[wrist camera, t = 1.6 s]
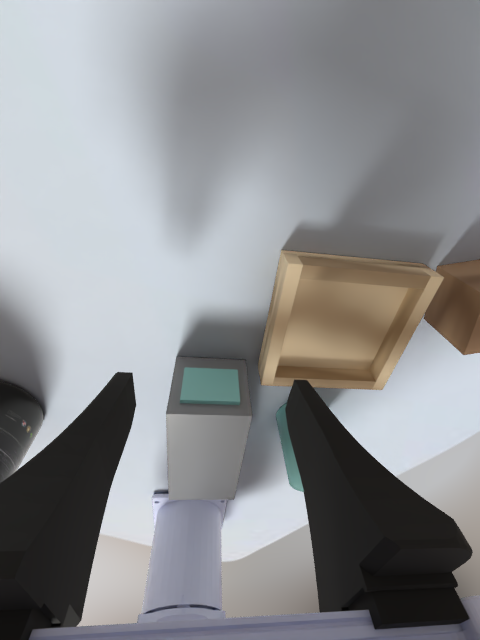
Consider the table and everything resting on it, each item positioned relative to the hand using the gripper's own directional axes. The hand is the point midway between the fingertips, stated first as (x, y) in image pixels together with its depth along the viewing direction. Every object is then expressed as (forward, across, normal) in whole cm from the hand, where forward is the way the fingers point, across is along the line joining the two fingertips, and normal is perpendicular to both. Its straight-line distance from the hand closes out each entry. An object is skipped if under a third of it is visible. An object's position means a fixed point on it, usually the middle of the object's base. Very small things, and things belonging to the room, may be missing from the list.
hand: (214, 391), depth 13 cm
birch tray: (+7, -8, 0) cm, 11 cm away
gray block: (+7, 0, +9) cm, 11 cm away
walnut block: (+7, -16, -3) cm, 18 cm away
